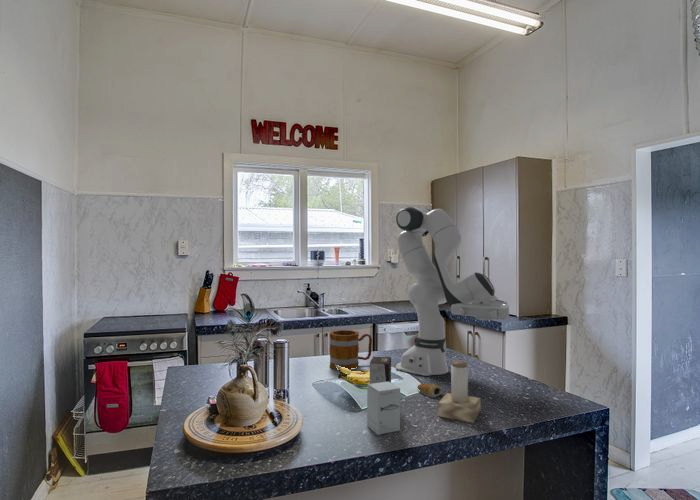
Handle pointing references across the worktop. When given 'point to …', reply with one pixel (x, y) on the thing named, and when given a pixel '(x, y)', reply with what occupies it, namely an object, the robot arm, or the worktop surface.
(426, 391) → the pastry
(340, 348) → the mug
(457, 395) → the spice jar
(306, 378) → the worktop surface
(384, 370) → the coffee box
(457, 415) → the riser
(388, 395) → the supplement box
